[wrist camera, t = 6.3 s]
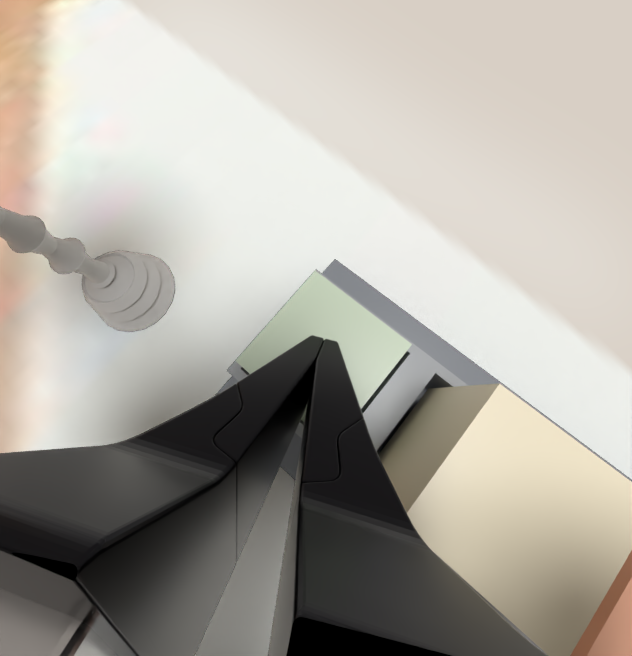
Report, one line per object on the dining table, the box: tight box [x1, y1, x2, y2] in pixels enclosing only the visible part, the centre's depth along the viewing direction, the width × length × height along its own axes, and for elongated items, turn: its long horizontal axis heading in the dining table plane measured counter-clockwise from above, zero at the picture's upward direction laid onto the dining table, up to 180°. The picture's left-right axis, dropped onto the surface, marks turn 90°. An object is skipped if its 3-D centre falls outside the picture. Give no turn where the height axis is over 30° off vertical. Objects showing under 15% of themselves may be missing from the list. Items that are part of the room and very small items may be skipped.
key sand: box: [379, 383, 632, 656], centre depth 9 cm, size 4×4×6 cm
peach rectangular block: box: [570, 551, 632, 656], centre depth 10 cm, size 4×4×6 cm
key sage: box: [236, 271, 412, 422], centre depth 12 cm, size 4×4×6 cm
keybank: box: [215, 259, 632, 654], centre depth 13 cm, size 25×10×5 cm, turn 50°
